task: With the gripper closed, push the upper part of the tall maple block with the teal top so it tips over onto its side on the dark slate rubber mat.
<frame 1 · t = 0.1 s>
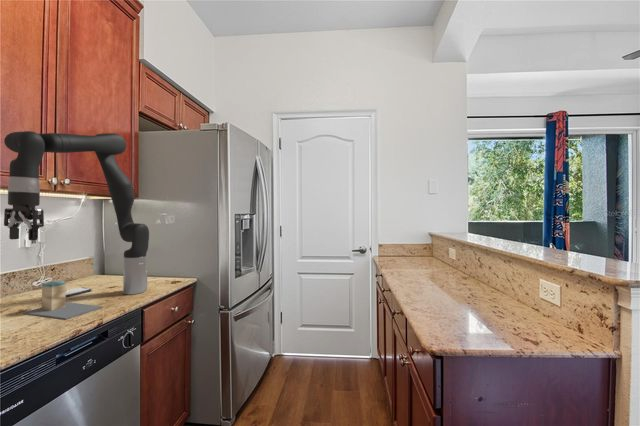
hand: (23, 239, 99), 29 cm above the worktop, tool pointing down, fingers open, 8 cm apart
slate mat: (64, 310, 115), on the worktop
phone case: (68, 295, 137), on the worktop
maple block: (53, 307, 116), resting on slate mat
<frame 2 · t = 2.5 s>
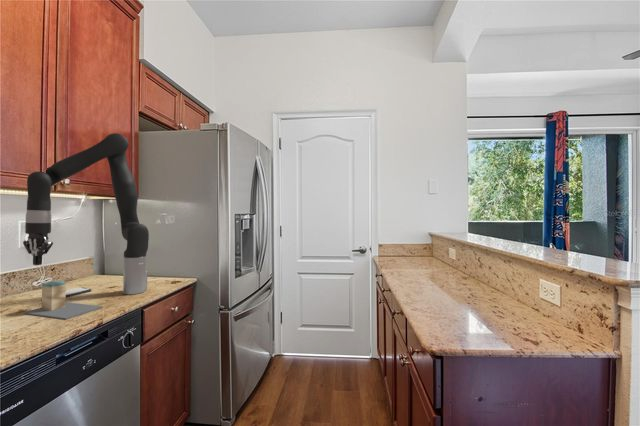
hand: (37, 264, 118), 17 cm above the worktop, tool pointing down, fingers closed
nothing on the worktop moved.
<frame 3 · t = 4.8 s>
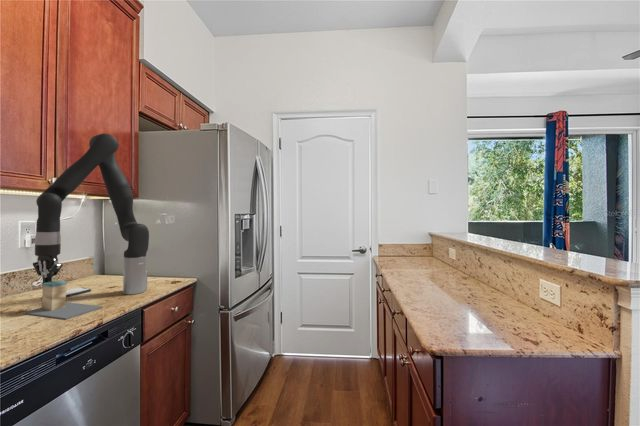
hand: (47, 286, 117), 9 cm above the worktop, tool pointing down, fingers closed
maple block: (53, 307, 116), point 1 cm above the worktop, touching gripper, slate mat
everything else where it was.
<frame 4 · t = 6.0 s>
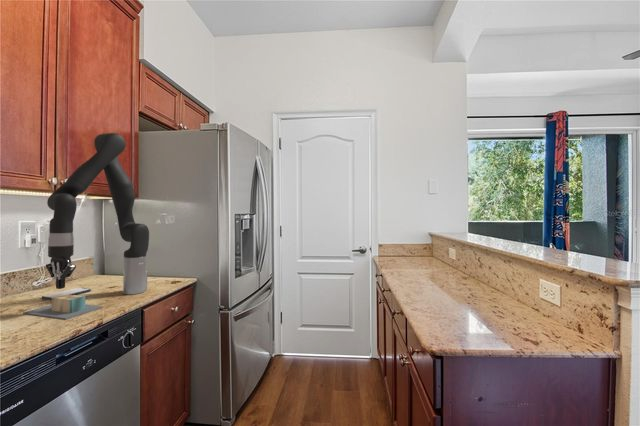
hand: (60, 288, 116), 8 cm above the worktop, tool pointing down, fingers closed
maple block: (58, 302, 116), point 3 cm above the worktop, tilted 90°, touching slate mat
everything else where it was.
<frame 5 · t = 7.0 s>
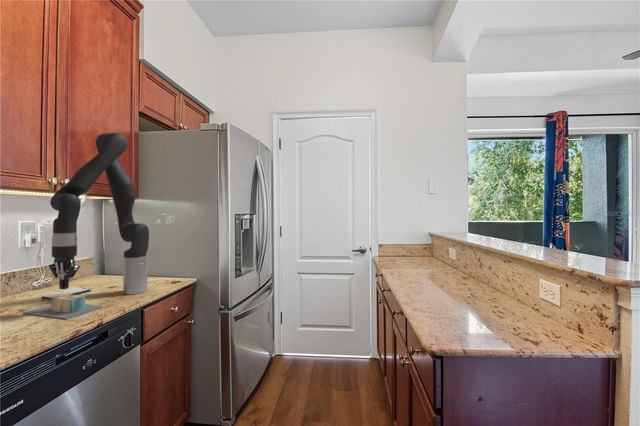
hand: (63, 288, 115), 8 cm above the worktop, tool pointing down, fingers closed
nothing on the worktop moved.
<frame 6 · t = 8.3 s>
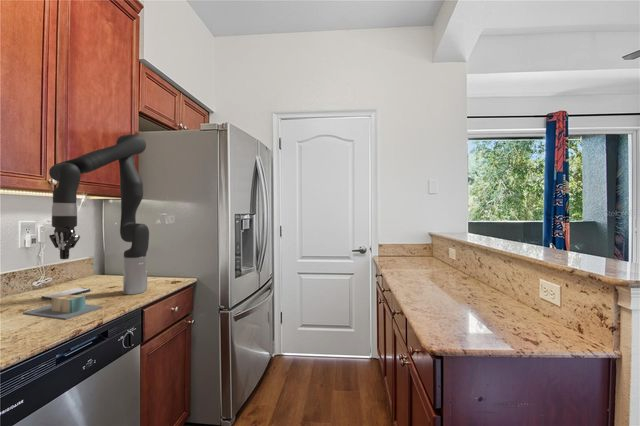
hand: (64, 259, 115), 20 cm above the worktop, tool pointing down, fingers closed
nothing on the worktop moved.
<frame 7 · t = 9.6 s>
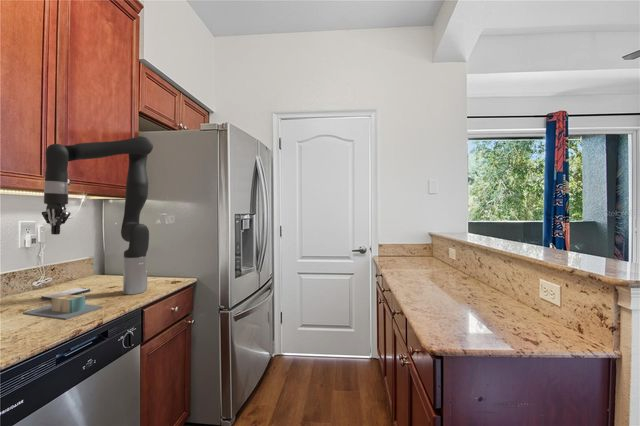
hand: (55, 234, 123), 29 cm above the worktop, tool pointing down, fingers closed
nothing on the worktop moved.
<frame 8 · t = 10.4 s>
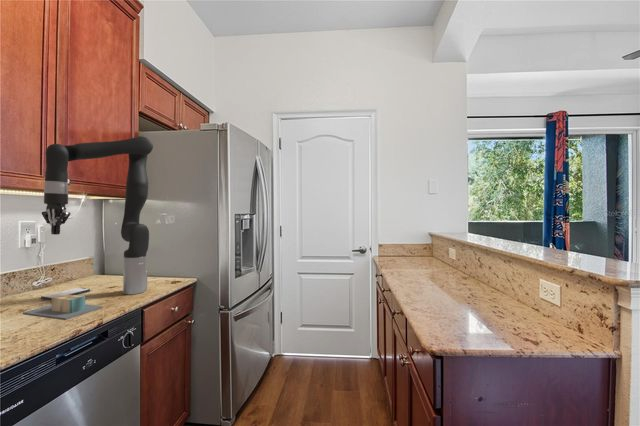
hand: (55, 234, 123), 29 cm above the worktop, tool pointing down, fingers closed
nothing on the worktop moved.
at the end: maple block tilted 90°; maple block inside the target area on the slate mat (3.0 cm from its centre), point 3.0 cm above the slate mat's base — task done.
